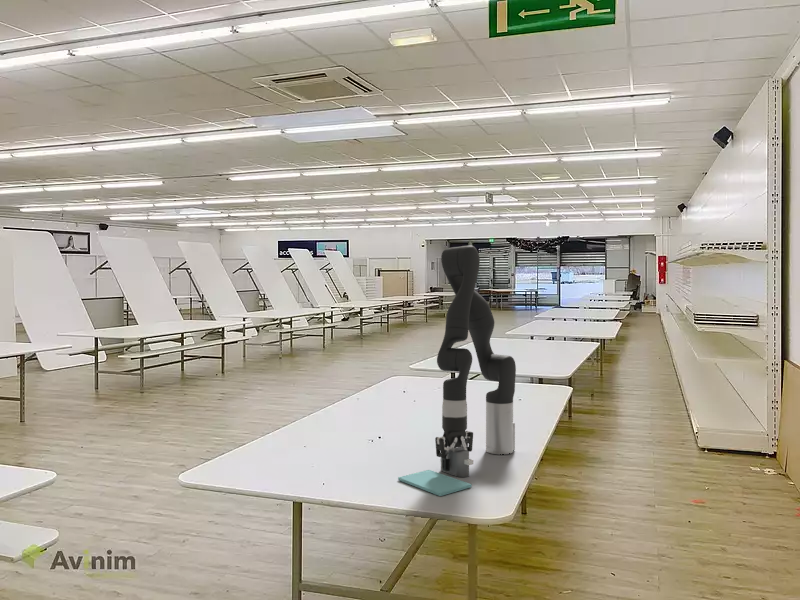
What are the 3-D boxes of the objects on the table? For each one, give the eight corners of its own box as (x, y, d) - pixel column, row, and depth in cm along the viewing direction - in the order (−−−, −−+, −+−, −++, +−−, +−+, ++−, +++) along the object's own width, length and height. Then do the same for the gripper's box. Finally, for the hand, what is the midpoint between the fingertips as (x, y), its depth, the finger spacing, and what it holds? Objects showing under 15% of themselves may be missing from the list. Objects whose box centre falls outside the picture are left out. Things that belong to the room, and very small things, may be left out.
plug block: (448, 467, 194) (448, 445, 193) (476, 476, 184) (476, 453, 184) (437, 469, 191) (437, 447, 191) (465, 479, 181) (465, 455, 181)
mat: (429, 472, 188) (429, 469, 188) (471, 487, 174) (471, 484, 174) (398, 480, 181) (398, 477, 181) (440, 496, 167) (440, 493, 167)
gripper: (462, 409, 195) (462, 461, 196) (428, 414, 186) (428, 470, 187) (480, 412, 189) (480, 467, 190) (445, 419, 180) (445, 476, 181)
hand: (454, 468), depth 188 cm, fingers open, 6 cm apart
